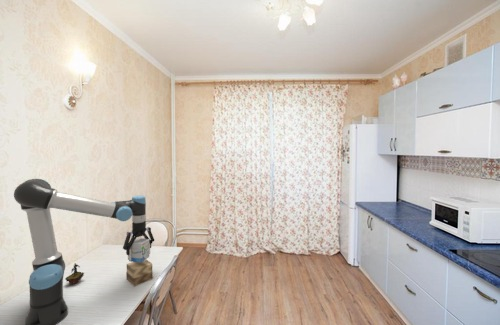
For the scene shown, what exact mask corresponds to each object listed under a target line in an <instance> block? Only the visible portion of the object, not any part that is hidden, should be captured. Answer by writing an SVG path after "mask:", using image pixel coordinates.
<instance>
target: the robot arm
mask: <svg viewBox="0 0 500 325" xmlns="http://www.w3.org/2000/svg"><path fill="white" fill-rule="evenodd" d="M13 191H14V192H13V197H14V198H13V199H14V200H15V202H16V203H17V204H19V205H20V208H21V210H22V211H23V212H25V213H26V217H27V221H28V228H29V231H30V237H31V242H32V247H33V253H34V259H33V260H32V262H31V266H32V270H33V271H32V272H31V273H30V275H29V278H28V284H29V310H28V312H27V315H26V318H25V321H24V325H57V324H58V323H60V322H62V320H64V319H65V318H66V317H67V316H68V313H69V308H68V305H67V303H66V301H65V298H64V285H63V284H64V276H65V270H66V263H65V260H64V258H63V253H62V252H60V251H58V246H57V242H56V238H55V236H56V235H55V231H54V225H53V220H52V214H51V209H55V210H63V211H69V212H75V213H81V214H87V215H93V216H99V217H105V218H111V219H116V220H118V221H120V222H127V221H129V220H130V219H131V221H132V224H131V228H132V230H131V231H126V237H125V239H124V244H123V246H122V249H123V250H124V251H125V252H126V256H127V260H128V261H129V260H130V261H129V262H131V249H130V248H131V246H132V244H133V242H134V241H135V239H137V238H141V237H143V238H145V239H149V255H151V248H152V244H153V242H155V238H154V235H153V232H152V228H151V226H150V227H149V226H147V223H146V222H147V221H146V219H147V212H146V207H147V203H146V196H144V195H134V196H132V198H131V199H130V200H120V201H112V202H109V201H105V200H101V199H96V198H95V199H94V198H90V197H85V196H80V195H75V194H69V193H66V192H65V193H64V192H61V191H58V190H57V189H56V188H52V185H51V184H50V183H49V182H48V181H47V180H45V179H41V178H31V179H27V180H25V181H23V182H22V183H21V184H19V185H17V187H16V188H15V189H14V190H13ZM146 231H147V234H148V235H147V234H146Z"/></svg>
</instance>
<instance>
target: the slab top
mask: <svg viewBox="0 0 500 325" xmlns="http://www.w3.org/2000/svg"><path fill="white" fill-rule="evenodd" d="M152 271H153V263H152V262H150V261H149V260H148V259H146V260H144V261H143V262H141V263H139V262H131V261H130V262H128V263H126V272H127V273H128V274H129V275H131V276H132V277H133V278H137V277H140V276H142V275H145V274H148V273H150V272H152Z"/></svg>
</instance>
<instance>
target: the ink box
mask: <svg viewBox="0 0 500 325" xmlns="http://www.w3.org/2000/svg"><path fill="white" fill-rule="evenodd" d="M149 239H150V238H149ZM149 239H145V238H144V237H137V238H136V239H135V241H134V242H133V244H132V246H131V248H130V249H131V261H130V260H128V262H130V263H131V262H139V263H141V262H143V261H144V260H148V258H150V254H149Z"/></svg>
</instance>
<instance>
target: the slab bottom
mask: <svg viewBox="0 0 500 325" xmlns="http://www.w3.org/2000/svg"><path fill="white" fill-rule="evenodd" d="M153 273H154V272H153V270H152V272H150V273H148V274H145V275H142V276H140V277H137V278H133V277H132V276H131V275H129V274H128V273H127V271H126V277H125V278H126V280H127V282H129V283H130V284H131V285H132V286H134V287H136V286H139V285H141V284H143V283H144V284H145V282H148V281H151V280H153V279H154V278H153V277H154V276H153V275H154V274H153Z"/></svg>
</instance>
